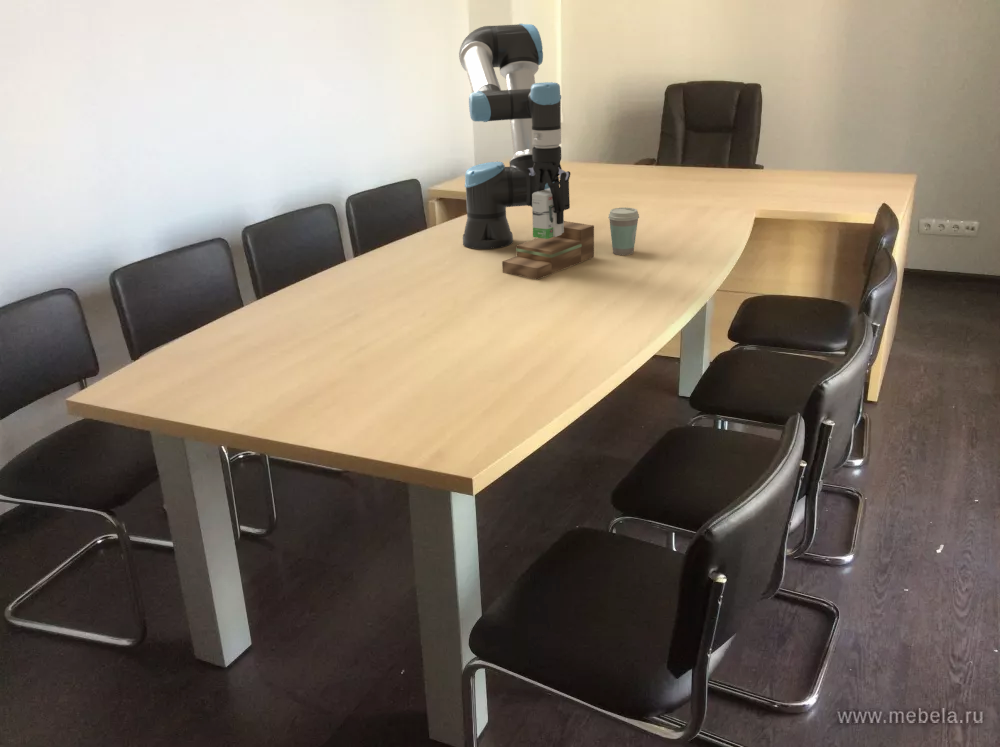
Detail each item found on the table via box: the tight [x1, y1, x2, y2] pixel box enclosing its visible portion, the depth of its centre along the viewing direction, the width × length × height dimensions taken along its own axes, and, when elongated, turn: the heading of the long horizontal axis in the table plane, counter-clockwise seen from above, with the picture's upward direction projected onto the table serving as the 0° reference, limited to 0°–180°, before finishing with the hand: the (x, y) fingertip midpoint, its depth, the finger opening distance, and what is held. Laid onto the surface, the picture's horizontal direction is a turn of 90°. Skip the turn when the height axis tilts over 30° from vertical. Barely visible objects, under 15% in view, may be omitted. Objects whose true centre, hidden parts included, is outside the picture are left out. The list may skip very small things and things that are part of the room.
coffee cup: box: [608, 207, 640, 256], centre depth 236 cm, size 9×8×12 cm
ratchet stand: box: [501, 220, 595, 280], centre depth 228 cm, size 12×25×9 cm, turn 138°
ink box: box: [531, 188, 565, 239], centre depth 224 cm, size 9×5×12 cm, turn 144°
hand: (548, 234), depth 227 cm, fingers closed on ink box, 5 cm apart
